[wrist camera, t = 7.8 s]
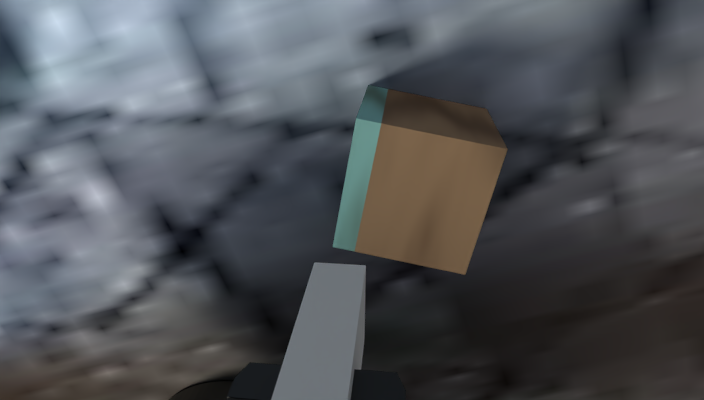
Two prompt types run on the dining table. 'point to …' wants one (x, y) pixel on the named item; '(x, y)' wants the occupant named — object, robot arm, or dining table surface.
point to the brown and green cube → (418, 179)
